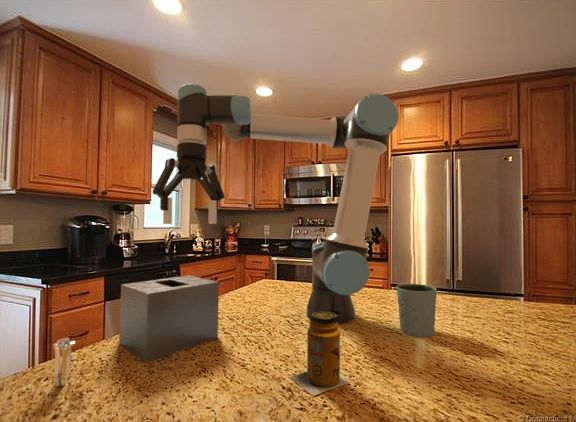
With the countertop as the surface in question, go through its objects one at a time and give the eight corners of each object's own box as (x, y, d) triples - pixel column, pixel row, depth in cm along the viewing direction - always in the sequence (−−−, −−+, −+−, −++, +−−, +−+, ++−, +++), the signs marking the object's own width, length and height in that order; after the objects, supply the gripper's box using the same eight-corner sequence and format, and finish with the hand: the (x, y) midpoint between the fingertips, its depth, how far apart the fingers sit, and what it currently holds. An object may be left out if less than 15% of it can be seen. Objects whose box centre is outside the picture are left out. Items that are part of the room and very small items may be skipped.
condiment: (349, 383, 56) (349, 316, 56) (313, 397, 51) (313, 324, 51) (324, 367, 62) (324, 307, 62) (289, 378, 57) (289, 313, 57)
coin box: (217, 337, 76) (218, 281, 77) (145, 362, 63) (147, 293, 63) (187, 325, 86) (188, 275, 86) (119, 344, 72) (121, 284, 72)
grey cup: (442, 331, 83) (441, 287, 83) (429, 341, 75) (429, 293, 76) (405, 323, 90) (405, 282, 90) (390, 331, 82) (390, 287, 83)
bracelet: (58, 377, 56) (59, 333, 57) (78, 374, 58) (80, 331, 58) (44, 397, 50) (46, 347, 50) (67, 393, 51) (69, 345, 52)
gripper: (220, 154, 94) (220, 223, 93) (138, 137, 74) (137, 224, 73) (236, 150, 89) (236, 223, 88) (153, 131, 69) (152, 224, 69)
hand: (191, 223), depth 81 cm, fingers open, 13 cm apart
